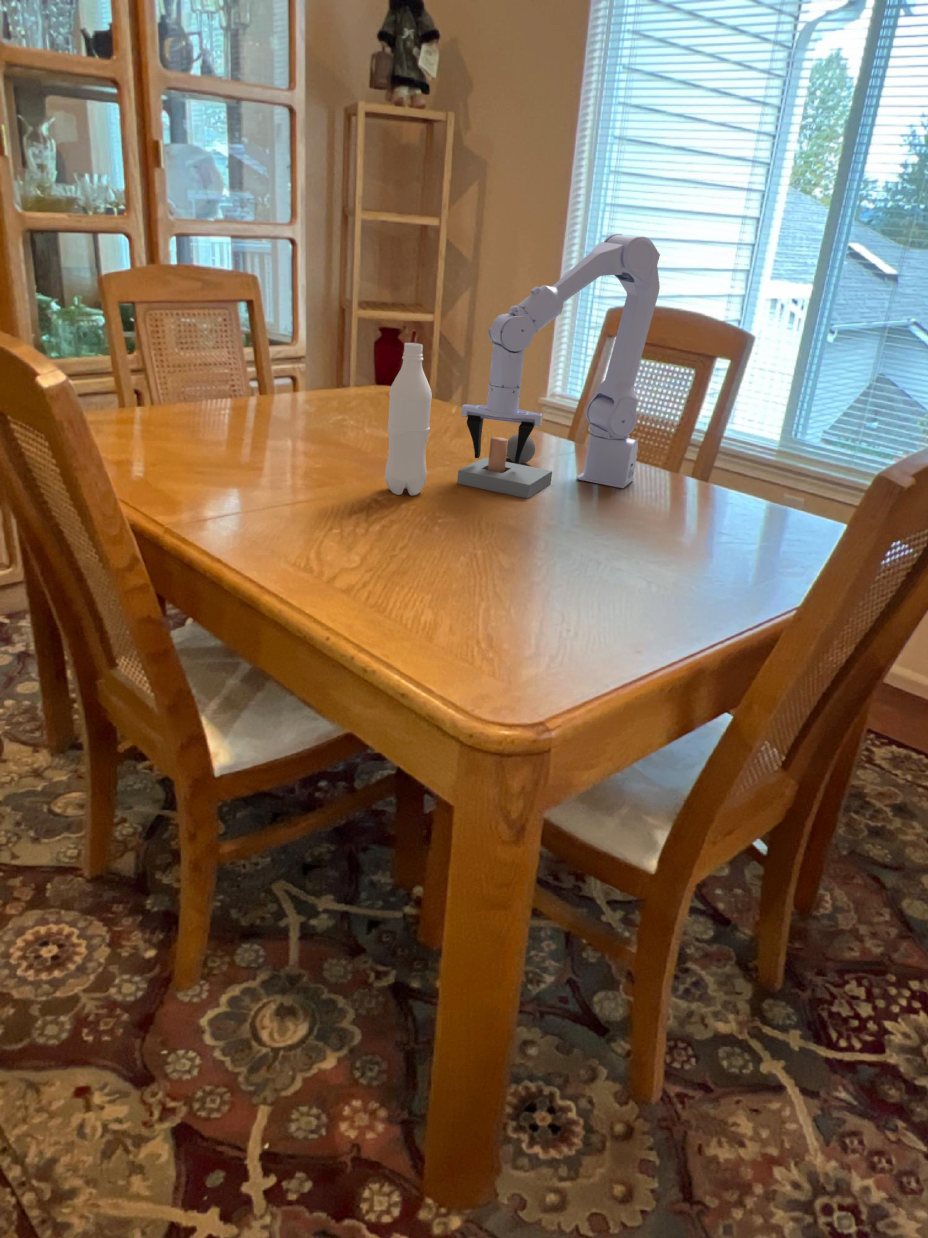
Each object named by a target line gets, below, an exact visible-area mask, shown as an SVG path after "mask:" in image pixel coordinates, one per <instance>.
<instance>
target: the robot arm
mask: <svg viewBox="0 0 928 1238" xmlns="http://www.w3.org/2000/svg"><path fill="white" fill-rule="evenodd" d="M660 255H661V254H660V252H659V251H658V249H657V248H656V245H654V243H653V242H652V240H651V239H650V238H648V237H646V236H642V235H641V236H633V235H632V236H631V235H624V234H621V233H612V234H610V235H609V236H607V237H606V238H605V239H604V241H601V242H599V243H597V244H596V245H595V246H594V247H593V249H592V250H591V251H590V252H589V253H588V254H587V255H586V256H584V258H582V260H580V261H579V262H578V263H577V264H576V265H575V266H573V267H572V268H571V269H570V270H569V271H568V272H566V274H565V275H563V276H562V277H561V278H560V279H559V280H558V281H556V282H555V284H553V285H552V286H550V285H541V286H540V287H538V286H533V288H531V289H530V293H531V294H530V295H529V296H527V297H526V298H525V299H523V300H522V301H521V302H520V303H518V304H517V305H512V306H510V307H509V313H502V314H499V315H498V316H496V317H495V318H494V319H493V321H492V324H491V325H490V328H488V330H487V334H488V338H489V340H490V342H491V343H492V351H491V358H490V359H491V360H490V369H489V370H490V371H489V379H488V390H487V391H488V392H487V400H486V401H487V402H486V405H481V404H480V405H479V404H477V405H476V404H467V403H466V404H462V405H461V414H460V415H461V417H462V418H467V419H466V426H467V428H468V431H469V433H470V436H471V439H472V445H473V451H474V459H480V457H481V451H482V447H481V446H482V434H483V425H484V419H485V420H493V421H500V422H501V421H502V422H509V423H518V424H519V423H520V425H519V426H518V432H517V434H518V444H517V450H516V456H515V462H514V463H515V464H518V463H519V461H520V456H521V453H522V450H523V447H524V445H525V443H526V440H527V438H528V437H530V434H531V433H532V431H533V430H534V428H535V426H536V427H540V426H542V420H543V413H539V412H533V411H528V410H524V409H519V405H520V396H521V395H520V394H521V387H522V378H523V377H522V376H523V368H524V358H525V357H524V356H525V349H527V348H529V346H530V345H531V343H532V340H533V336H534V335H535V334H537V333H538V332H539V331H541V330H542V329H543V328H544V327H546V326H547V325H548V324H549V323H551V322H552V321H553V320H554V319H556V318H557V317H558V316H559V315H561V314H562V312H563V308H564V303H565V302H566V301H567V300H568V299H570V298H571V297H573V296H574V295H576V294H577V293H579V292H581V290H583V289H584V288H586V287H588V285H590V284H591V283H593V282H594V281H595V280H598V278H600V277H603V276H605V277H606V276H614V277H615V278H617V279H618V280H619V283H620V284H621V286H622V287H623V289H624V290H625V292H626V297H625V300H624V301H625V302H624V305H623V309H622V313H621V317H620V321H619V324H618V328H617V333H616V337H615V339H614V344H613V348H612V351H611V355H610V359H609V363H608V367H607V371H606V375H605V379H604V380H603V381H602V382H601V383H600V384H599V385H597V387H596V388H595V392H594V394H593V397H592V398H591V399H590V401H589V402H588V404H587V406H586V408H585V417H586V420H587V422H588V423H589V424H590V425H589V434H588V441H587V447H586V448H587V449H586V454H585V462H584V467H583V472H581V473H580V474H578V475H577V476H576V480H578V481H579V480H580V481H585V482H589V483H595V484H599V485H603V486H608V487H612V488H613V487H614V488H620V489H624V488H625V487H627V486H628V485H629V484H630V483H632V482H633V481H634V475H635V468H636V462H637V456H638V450H639V447H638V446H639V442H638V440H637V439H634V438H630V437H629V435H630V434H631V433H633V431H634V429H635V427H636V426H637V423H638V415H637V406H638V402H639V399H638V397H637V394H636V391H635V387H634V385H635V381H636V377H637V373H638V371H639V366H640V363H641V360H642V355H643V352H644V348H645V345H646V341H647V337H648V333H649V330H650V326H651V323H652V320H653V316H654V312H655V308H656V303H657V301H658V297H659V292H660V287H661V286H660V278H659V271H658V270H659V268H658V265H659V259H660Z"/></svg>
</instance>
